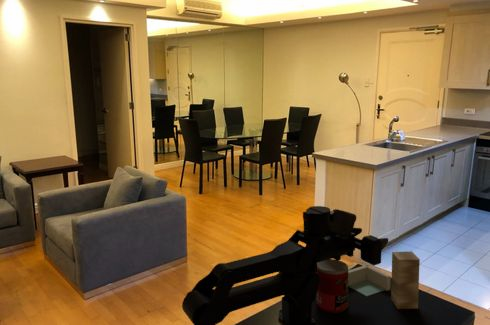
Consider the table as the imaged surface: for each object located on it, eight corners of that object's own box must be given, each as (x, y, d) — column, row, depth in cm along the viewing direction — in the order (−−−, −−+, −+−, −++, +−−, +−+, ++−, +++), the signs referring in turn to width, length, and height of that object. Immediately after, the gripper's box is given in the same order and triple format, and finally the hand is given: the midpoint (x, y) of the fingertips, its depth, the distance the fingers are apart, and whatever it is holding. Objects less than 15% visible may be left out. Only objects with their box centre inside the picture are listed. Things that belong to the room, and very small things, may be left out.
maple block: (397, 308, 101) (399, 259, 98) (391, 298, 105) (392, 251, 103) (417, 308, 100) (419, 259, 98) (410, 298, 105) (411, 251, 103)
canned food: (340, 316, 98) (340, 274, 96) (311, 307, 103) (310, 267, 101) (353, 303, 104) (353, 263, 102) (324, 295, 109) (324, 256, 107)
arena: (355, 302, 104) (355, 287, 104) (333, 288, 112) (333, 275, 111) (390, 289, 110) (390, 275, 110) (366, 277, 118) (366, 264, 117)
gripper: (355, 226, 89) (404, 214, 96) (304, 207, 105) (349, 197, 113) (354, 273, 91) (402, 257, 98) (305, 247, 107) (349, 235, 115)
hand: (374, 234), depth 106 cm, fingers open, 9 cm apart
